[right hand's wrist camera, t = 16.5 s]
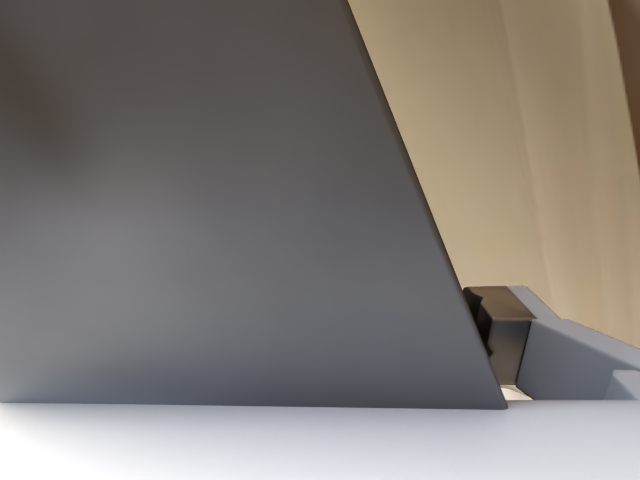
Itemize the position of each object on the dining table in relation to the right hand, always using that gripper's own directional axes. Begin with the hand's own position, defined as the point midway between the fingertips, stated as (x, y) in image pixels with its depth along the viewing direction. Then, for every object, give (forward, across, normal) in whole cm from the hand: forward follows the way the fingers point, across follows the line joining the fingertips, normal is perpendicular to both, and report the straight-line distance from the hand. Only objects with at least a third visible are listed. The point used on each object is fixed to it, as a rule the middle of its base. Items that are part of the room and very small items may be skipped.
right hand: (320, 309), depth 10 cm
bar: (+3, +3, -7) cm, 8 cm away
